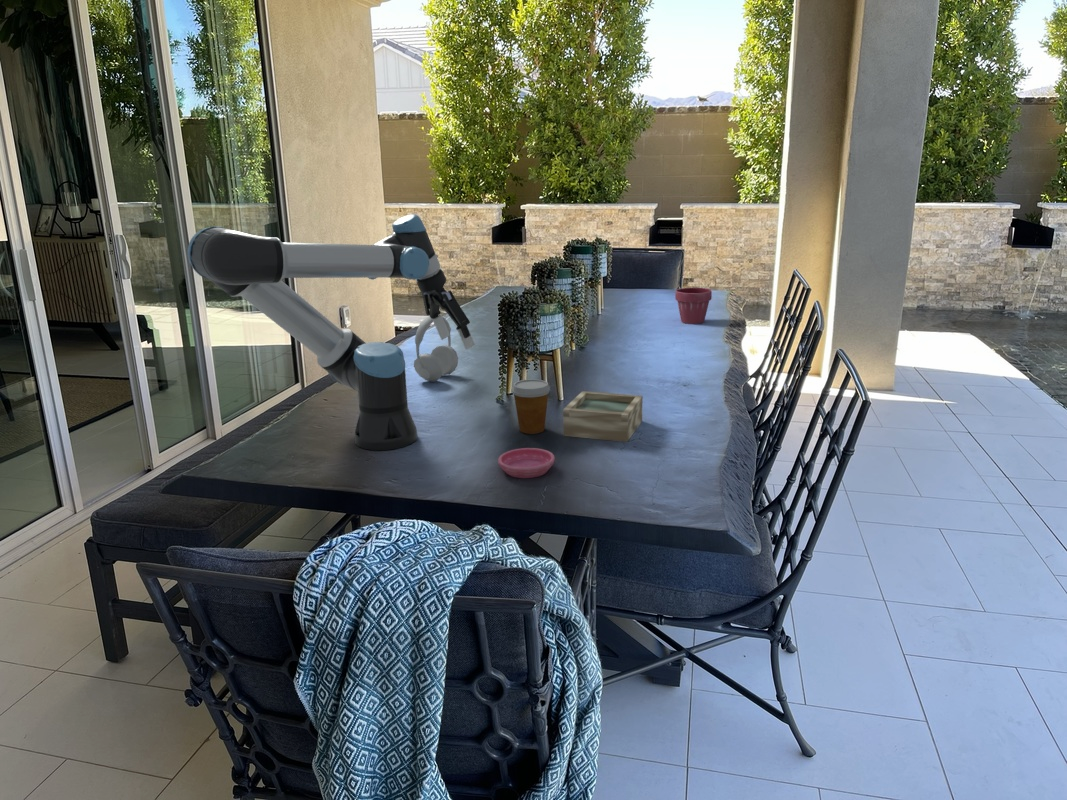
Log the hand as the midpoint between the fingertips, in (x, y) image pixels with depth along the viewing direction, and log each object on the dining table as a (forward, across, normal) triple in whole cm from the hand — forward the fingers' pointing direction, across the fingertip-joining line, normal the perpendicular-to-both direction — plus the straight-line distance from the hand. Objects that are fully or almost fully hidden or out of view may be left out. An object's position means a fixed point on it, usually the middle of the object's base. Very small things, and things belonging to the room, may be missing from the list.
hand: (457, 342), depth 219 cm
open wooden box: (+22, -42, -10) cm, 48 cm away
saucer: (+11, -52, +18) cm, 56 cm away
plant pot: (+63, +35, -111) cm, 132 cm away
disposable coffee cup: (+17, -31, +4) cm, 36 cm away
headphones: (+19, +26, +1) cm, 32 cm away
